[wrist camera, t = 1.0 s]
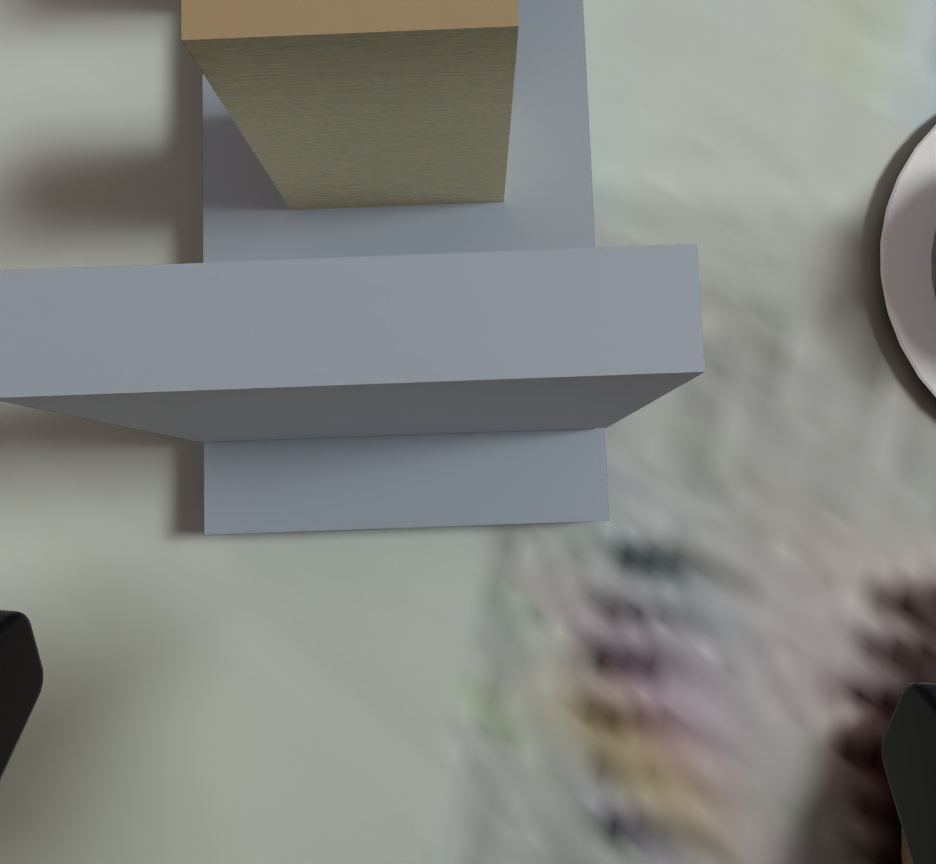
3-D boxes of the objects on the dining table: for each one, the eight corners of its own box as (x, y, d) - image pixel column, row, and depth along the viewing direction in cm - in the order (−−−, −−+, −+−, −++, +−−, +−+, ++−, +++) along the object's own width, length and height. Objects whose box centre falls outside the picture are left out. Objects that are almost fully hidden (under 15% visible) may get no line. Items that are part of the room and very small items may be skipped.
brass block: (503, 201, 22) (518, 25, 14) (291, 210, 22) (181, 40, 14) (499, 99, 22) (512, -132, 14) (289, 108, 22) (180, -118, 14)
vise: (600, 519, 22) (650, 527, 16) (222, 532, 22) (117, 545, 16) (569, -93, 24) (603, -314, 17) (219, -78, 24) (122, -292, 18)
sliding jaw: (606, 427, 21) (704, 371, 12) (199, 442, 21) (-13, 398, 12) (602, 354, 21) (696, 243, 12) (199, 369, 21) (-11, 271, 12)
